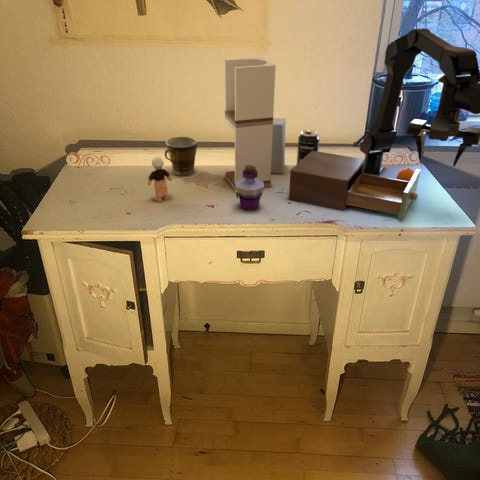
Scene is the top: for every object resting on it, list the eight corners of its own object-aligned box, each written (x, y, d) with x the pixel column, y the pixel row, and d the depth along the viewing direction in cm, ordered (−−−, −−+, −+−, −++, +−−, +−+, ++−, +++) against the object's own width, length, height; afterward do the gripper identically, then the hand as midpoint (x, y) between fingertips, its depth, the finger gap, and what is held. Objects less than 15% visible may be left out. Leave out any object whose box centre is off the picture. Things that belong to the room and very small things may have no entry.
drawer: (360, 184, 165) (364, 160, 160) (420, 195, 159) (426, 170, 154) (343, 207, 152) (346, 181, 147) (408, 219, 145) (414, 194, 141)
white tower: (258, 174, 173) (262, 57, 152) (270, 186, 165) (275, 65, 144) (225, 178, 171) (224, 59, 149) (235, 191, 163) (235, 67, 141)
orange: (397, 182, 168) (400, 163, 165) (416, 185, 166) (420, 166, 163) (392, 189, 164) (396, 169, 160) (412, 193, 162) (416, 173, 158)
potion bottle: (230, 203, 156) (229, 163, 148) (256, 198, 158) (257, 159, 151) (241, 215, 149) (242, 174, 142) (269, 210, 152) (270, 169, 145)
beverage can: (305, 163, 181) (308, 128, 174) (320, 169, 177) (324, 133, 170) (291, 168, 177) (294, 132, 170) (307, 174, 173) (310, 137, 166)
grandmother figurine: (166, 193, 161) (163, 152, 153) (174, 197, 159) (171, 155, 151) (146, 200, 157) (141, 159, 149) (154, 204, 154) (150, 162, 147)
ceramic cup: (181, 164, 180) (180, 134, 174) (204, 170, 176) (203, 140, 169) (155, 175, 172) (152, 145, 166) (178, 183, 167) (176, 152, 161)
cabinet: (309, 177, 171) (311, 150, 166) (360, 187, 165) (365, 159, 160) (288, 199, 158) (290, 170, 152) (343, 210, 152) (347, 180, 147)
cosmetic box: (282, 174, 173) (284, 125, 164) (260, 172, 174) (262, 123, 165) (285, 165, 180) (288, 117, 170) (264, 163, 181) (266, 116, 171)
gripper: (405, 106, 135) (395, 165, 144) (482, 116, 127) (465, 179, 136) (417, 96, 142) (406, 153, 152) (490, 106, 135) (474, 165, 144)
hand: (436, 163), depth 146 cm, fingers open, 9 cm apart
